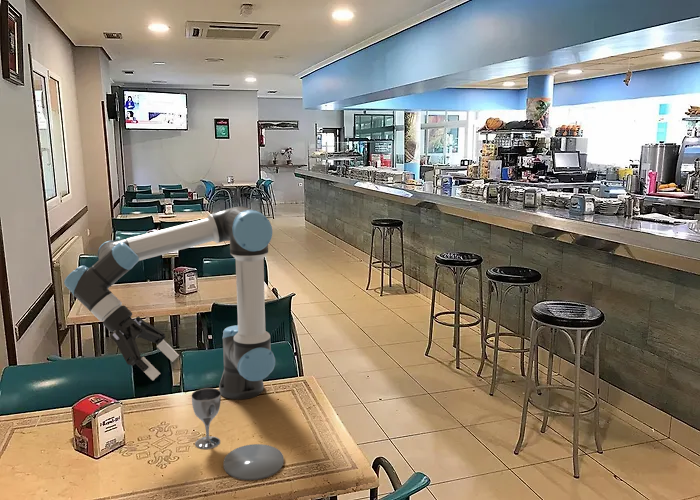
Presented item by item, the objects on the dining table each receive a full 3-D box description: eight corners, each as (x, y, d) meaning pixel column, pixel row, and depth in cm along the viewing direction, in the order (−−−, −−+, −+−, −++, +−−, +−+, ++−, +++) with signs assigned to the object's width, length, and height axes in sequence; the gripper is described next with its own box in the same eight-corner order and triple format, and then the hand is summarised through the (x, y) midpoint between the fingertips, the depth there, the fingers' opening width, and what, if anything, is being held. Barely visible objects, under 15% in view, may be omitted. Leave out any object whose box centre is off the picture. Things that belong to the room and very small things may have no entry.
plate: (239, 443, 166) (239, 440, 166) (292, 452, 162) (292, 449, 162) (212, 474, 151) (212, 470, 151) (269, 484, 147) (269, 481, 147)
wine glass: (214, 451, 162) (213, 401, 159) (188, 448, 163) (186, 398, 161) (226, 437, 170) (225, 389, 167) (201, 434, 171) (199, 386, 168)
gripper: (124, 309, 174) (174, 359, 176) (79, 336, 150) (138, 394, 151) (141, 293, 173) (191, 343, 174) (98, 318, 148) (157, 376, 150)
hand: (166, 367), depth 163 cm, fingers open, 13 cm apart
